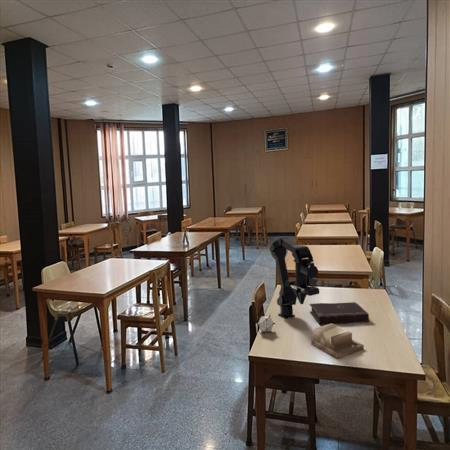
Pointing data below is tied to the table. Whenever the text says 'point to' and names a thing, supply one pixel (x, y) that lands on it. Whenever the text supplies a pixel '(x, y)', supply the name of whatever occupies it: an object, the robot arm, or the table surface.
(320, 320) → the diary
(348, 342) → the maple block
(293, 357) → the table surface
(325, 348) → the felt tray
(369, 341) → the table surface
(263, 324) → the white spiky ball
